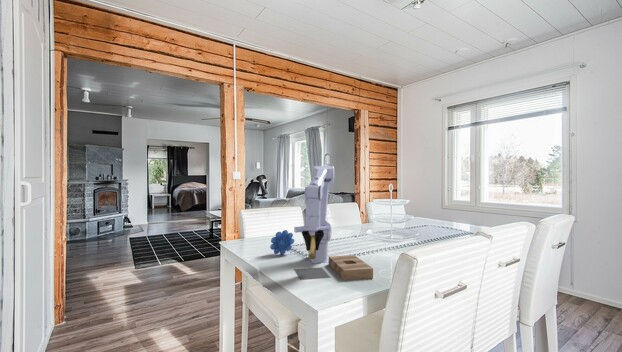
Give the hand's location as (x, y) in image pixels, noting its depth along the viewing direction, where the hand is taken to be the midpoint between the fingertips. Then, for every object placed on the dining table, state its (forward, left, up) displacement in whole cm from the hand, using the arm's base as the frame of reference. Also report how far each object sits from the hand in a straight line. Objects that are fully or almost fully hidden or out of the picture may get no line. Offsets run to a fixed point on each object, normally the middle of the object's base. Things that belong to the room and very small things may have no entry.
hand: (312, 250), depth 114 cm
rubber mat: (0, 0, -10) cm, 10 cm away
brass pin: (0, 0, -3) cm, 3 cm away
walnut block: (0, +16, -10) cm, 19 cm away
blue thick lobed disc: (-30, -7, -10) cm, 32 cm away
